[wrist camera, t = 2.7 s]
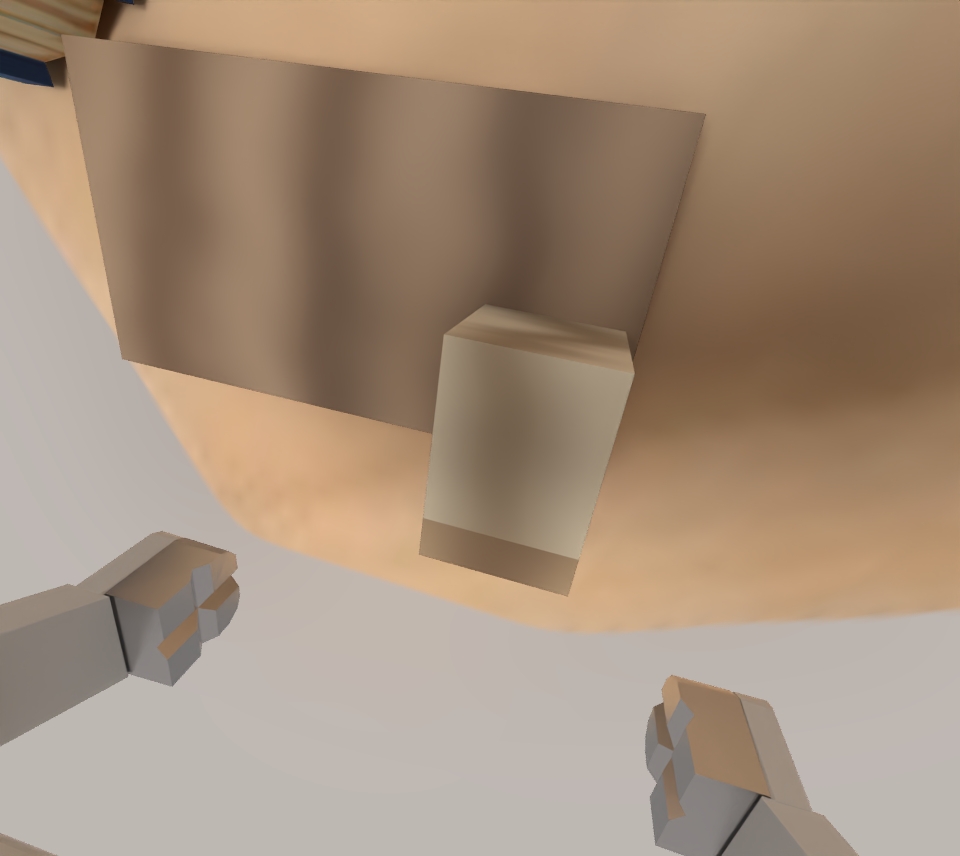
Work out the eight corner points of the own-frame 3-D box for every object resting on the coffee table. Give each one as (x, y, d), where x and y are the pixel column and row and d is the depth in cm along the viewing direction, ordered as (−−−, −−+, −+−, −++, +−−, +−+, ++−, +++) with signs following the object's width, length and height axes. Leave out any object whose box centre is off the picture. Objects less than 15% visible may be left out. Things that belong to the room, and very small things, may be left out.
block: (623, 319, 18) (635, 373, 12) (577, 483, 21) (567, 596, 15) (497, 295, 19) (443, 333, 13) (471, 457, 22) (418, 554, 16)
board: (691, 128, 16) (706, 114, 13) (599, 446, 21) (599, 473, 19) (124, 55, 19) (60, 33, 17) (166, 346, 24) (122, 359, 22)
